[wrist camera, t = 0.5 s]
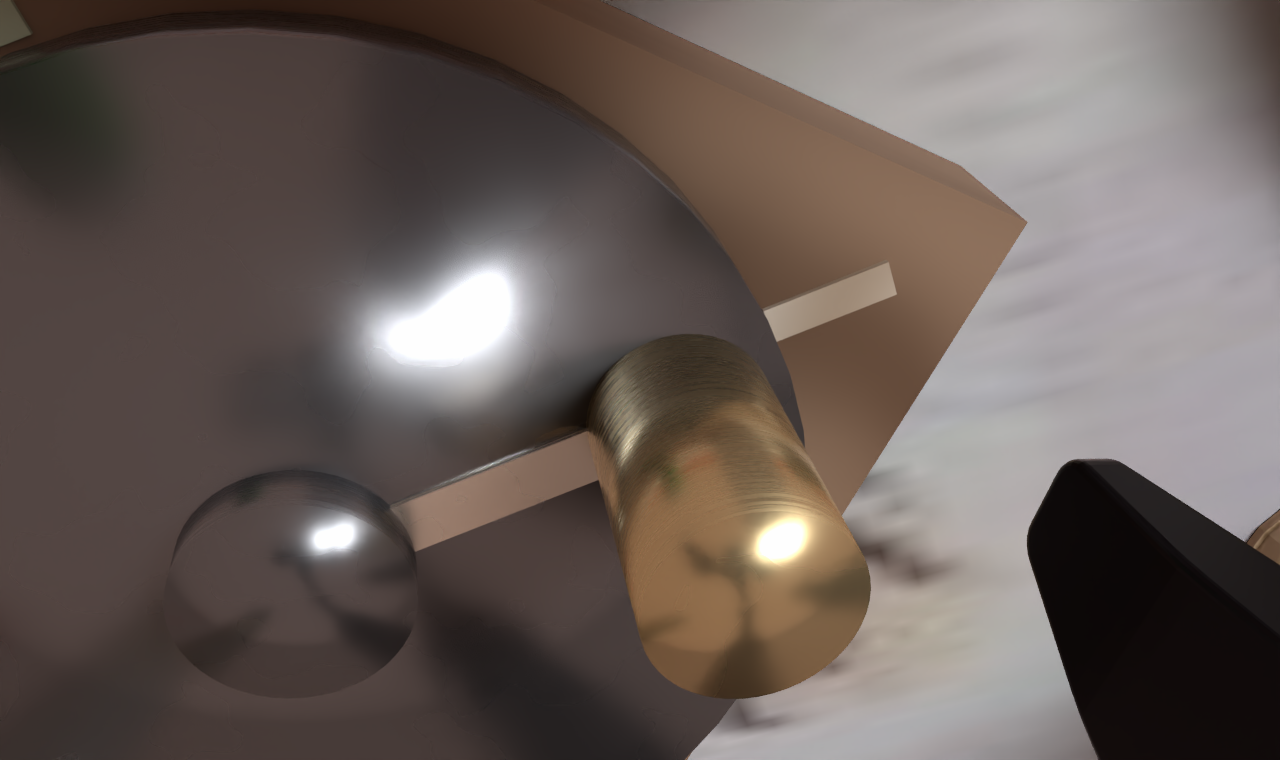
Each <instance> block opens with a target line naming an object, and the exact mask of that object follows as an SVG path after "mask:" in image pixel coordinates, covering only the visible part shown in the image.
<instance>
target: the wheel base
mask: <svg viewBox="0 0 1280 760" xmlns="http://www.w3.org/2000/svg"><path fill="white" fill-rule="evenodd" d="M247 9H260V10H272V11H284V12H296V13H309V14H321V15H333V16H341V17H346V18H351V19H356V20H360V21H365V22H370V23H374V24H379V25H384V26H388V27H393V28H398V29H402V30H407V31H412V32H417V33H421V34H423V35H426V36H429V37H432V38H435V39H438V40H441V41H443V42H446V43H449V44H452V45H455V46H458V47H461V48H463V49H466V50H469V51H472V52H475V53H478V54H481V55H483V56H486V57H489V58H492V59H495V60H497V61H499V62H501V63H503V64H505V65H507V66H509V67H511V68H513V69H515V70H517V71H518V72H520V73H522V74H524V75H526V76H528V77H530V78H532V79H534V80H536V81H538V82H540V83H542V84H544V85H546V86H548V87H550V88H552V89H554V90H556V91H558V92H560V93H562V94H564V95H565V96H567V97H568V98H569V99H571V100H572V101H574V102H575V103H577V104H578V105H580V106H581V107H583V108H584V109H586V110H587V111H589V112H590V113H591V114H593V115H594V116H596V117H597V118H599V119H600V120H602V121H603V122H605V123H606V124H608V125H609V126H610V127H612V128H613V129H615V130H616V131H618V132H619V133H621V134H622V135H623V136H624V137H625V138H626V139H628V140H629V141H630V142H631V143H632V144H633V145H634V146H635V147H636V148H638V149H639V150H640V151H641V152H642V153H643V154H644V155H645V156H646V157H647V158H649V159H650V160H651V161H652V162H653V163H654V164H655V165H656V166H657V167H658V168H660V169H661V170H662V171H663V172H664V173H665V174H666V175H667V176H668V177H670V178H671V179H672V180H673V182H674V183H675V184H676V185H677V186H678V188H679V189H680V190H681V191H682V192H683V194H684V195H685V196H686V197H687V198H688V200H689V201H690V202H691V203H692V204H693V206H694V207H695V208H696V209H697V210H698V212H699V213H700V214H701V215H702V216H703V218H704V219H705V220H706V221H707V223H708V224H709V225H710V226H711V227H712V229H713V230H714V232H715V233H716V235H717V236H718V238H719V240H720V241H721V243H722V245H723V246H724V248H725V250H726V251H727V253H728V255H729V256H730V258H731V259H732V261H733V263H734V264H735V266H736V268H737V269H738V271H739V273H740V274H741V276H742V278H743V279H744V281H745V283H746V284H747V286H748V288H749V289H750V291H751V293H752V294H753V296H754V298H755V299H756V301H757V303H758V304H759V306H760V308H761V309H762V311H763V313H764V314H765V316H766V318H767V319H768V322H769V324H770V327H771V329H772V332H773V334H774V336H775V339H776V341H777V344H778V346H779V348H780V351H781V353H782V356H783V358H784V360H785V363H786V365H787V368H788V370H789V373H790V375H791V379H792V384H793V388H794V392H795V396H796V400H797V404H798V408H799V413H800V417H801V421H802V425H803V429H804V440H805V450H806V451H807V453H808V455H809V457H810V459H811V461H812V462H813V464H814V466H815V468H816V470H817V472H818V473H819V475H820V477H821V479H822V481H823V483H824V484H825V486H826V488H827V490H828V492H829V494H830V495H831V497H832V499H833V501H834V503H835V505H836V507H837V508H838V510H839V512H840V514H841V516H842V514H843V513H844V511H845V510H846V508H847V506H848V505H849V503H850V502H851V500H852V498H853V497H854V495H855V494H856V492H857V491H858V489H859V487H860V486H861V484H862V483H863V481H864V480H865V478H866V476H867V475H868V473H869V472H870V470H871V469H872V467H873V465H874V464H875V462H876V461H877V459H878V457H879V456H880V454H881V453H882V451H883V450H884V448H885V446H886V445H887V443H888V442H889V440H890V439H891V437H892V435H893V434H894V432H895V431H896V429H897V427H898V426H899V424H900V423H901V421H902V420H903V418H904V416H905V415H906V413H907V412H908V410H909V409H910V407H911V405H912V404H913V402H914V401H915V399H916V397H917V396H918V394H919V393H920V391H921V390H922V388H923V386H924V385H925V383H926V382H927V380H928V379H929V377H930V375H931V374H932V372H933V371H934V369H935V368H936V366H937V364H938V363H939V361H940V360H941V358H942V356H943V355H944V353H945V352H946V350H947V349H948V347H949V345H950V344H951V342H952V341H953V339H954V338H955V336H956V334H957V333H958V331H959V330H960V328H961V326H962V325H963V323H964V322H965V320H966V319H967V317H968V315H969V314H970V312H971V311H972V309H973V308H974V306H975V304H976V303H977V301H978V300H979V298H980V297H981V295H982V293H983V292H984V290H985V289H986V287H987V285H988V284H989V282H990V281H991V279H992V278H993V276H994V274H995V273H996V271H997V270H998V268H999V267H1000V265H1001V263H1002V262H1003V260H1004V259H1005V257H1006V255H1007V254H1008V252H1009V251H1010V249H1011V248H1012V246H1013V244H1014V243H1015V241H1016V240H1017V238H1018V237H1019V235H1020V233H1021V232H1022V230H1023V229H1024V227H1025V226H1026V224H1027V221H1025V220H1024V219H1023V218H1022V217H1021V216H1020V215H1018V214H1017V213H1016V212H1015V211H1014V210H1012V209H1011V208H1010V207H1009V206H1008V205H1006V204H1005V203H1004V202H1003V201H1002V200H1001V199H999V198H998V197H997V196H996V195H995V194H993V193H992V192H991V191H990V190H989V189H987V188H986V187H985V186H984V185H983V184H982V183H980V182H979V181H978V180H977V179H976V178H974V177H973V176H972V175H971V174H970V173H968V172H967V171H966V170H965V169H964V168H963V167H961V166H959V165H957V164H955V163H953V162H951V161H949V160H946V159H944V158H942V157H940V156H938V155H935V154H933V153H931V152H929V151H927V150H925V149H922V148H920V147H918V146H916V145H914V144H911V143H909V142H907V141H905V140H903V139H901V138H898V137H896V136H894V135H892V134H890V133H887V132H885V131H883V130H881V129H879V128H877V127H874V126H872V125H870V124H868V123H866V122H864V121H861V120H859V119H857V118H855V117H853V116H850V115H848V114H846V113H844V112H842V111H840V110H837V109H835V108H833V107H831V106H829V105H826V104H824V103H822V102H820V101H818V100H816V99H813V98H811V97H809V96H807V95H805V94H802V93H800V92H798V91H796V90H794V89H792V88H789V87H787V86H785V85H783V84H781V83H778V82H776V81H774V80H772V79H770V78H768V77H765V76H763V75H761V74H759V73H757V72H754V71H752V70H750V69H748V68H746V67H744V66H741V65H739V64H737V63H735V62H733V61H730V60H728V59H726V58H724V57H722V56H720V55H717V54H715V53H713V52H711V51H709V50H706V49H704V48H702V47H700V46H698V45H696V44H693V43H691V42H689V41H687V40H685V39H682V38H680V37H678V36H676V35H674V34H672V33H669V32H667V31H665V30H663V29H661V28H659V27H656V26H654V25H652V24H650V23H648V22H645V21H643V20H641V19H639V18H637V17H635V16H632V15H630V14H628V13H626V12H624V11H621V10H619V9H617V8H615V7H613V6H611V5H608V4H606V3H604V2H602V1H600V0H0V57H2V56H4V55H6V54H9V53H11V52H14V51H18V50H21V49H24V48H27V47H30V46H33V45H36V44H39V43H42V42H45V41H49V40H52V39H55V38H58V37H61V36H64V35H67V34H70V33H73V32H76V31H80V30H83V29H86V28H89V27H95V26H101V25H106V24H112V23H118V22H123V21H129V20H134V19H140V18H146V17H151V16H157V15H162V14H168V13H181V12H203V11H225V10H247ZM691 753H692V752H691ZM691 753H690V754H691ZM690 754H689V755H688V757H689V756H690ZM688 757H687V758H686V759H685V760H687V759H688Z"/></svg>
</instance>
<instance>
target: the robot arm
mask: <svg viewBox="0 0 1280 760" xmlns="http://www.w3.org/2000/svg"><path fill="white" fill-rule="evenodd" d="M1027 550H1028V556H1029V560H1030V563H1031V566H1032V570H1033V573H1034V576H1035V579H1036V582H1037V585H1038V588H1039V591H1040V594H1041V598H1042V601H1043V604H1044V607H1045V610H1046V613H1047V616H1048V619H1049V622H1050V626H1051V629H1052V632H1053V635H1054V638H1055V641H1056V644H1057V647H1058V651H1059V654H1060V657H1061V660H1062V663H1063V666H1064V669H1065V672H1066V675H1067V679H1068V682H1069V685H1070V688H1071V691H1072V694H1073V697H1074V699H1075V702H1076V705H1077V708H1078V711H1079V714H1080V716H1081V719H1082V721H1083V724H1084V726H1085V729H1086V731H1087V734H1088V736H1089V739H1090V741H1091V744H1092V746H1093V748H1094V750H1095V753H1096V755H1097V757H1098V760H1280V565H1279V564H1278V563H1276V562H1275V561H1273V560H1272V559H1270V558H1269V557H1267V556H1265V555H1264V554H1262V553H1261V552H1259V551H1258V550H1256V549H1255V548H1253V547H1251V546H1250V545H1248V544H1247V543H1245V542H1244V541H1242V540H1241V539H1239V538H1238V537H1236V536H1234V535H1233V534H1231V533H1230V532H1228V531H1227V530H1225V529H1224V528H1222V527H1220V526H1219V525H1217V524H1216V523H1214V522H1213V521H1211V520H1210V519H1208V518H1207V517H1205V516H1203V515H1202V514H1200V513H1199V512H1197V511H1196V510H1194V509H1193V508H1191V507H1189V506H1188V505H1186V504H1185V503H1183V502H1182V501H1180V500H1179V499H1177V498H1176V497H1174V496H1172V495H1171V494H1169V493H1168V492H1166V491H1165V490H1163V489H1162V488H1160V487H1158V486H1157V485H1155V484H1154V483H1152V482H1151V481H1149V480H1148V479H1146V478H1145V477H1143V476H1141V475H1140V474H1138V473H1137V472H1135V471H1134V470H1132V469H1131V468H1129V467H1127V466H1126V465H1124V464H1123V463H1121V462H1119V461H1116V460H1112V459H1075V460H1071V461H1069V462H1067V463H1066V464H1065V465H1063V466H1062V467H1061V468H1060V470H1059V471H1058V473H1057V475H1056V476H1055V478H1054V480H1053V482H1052V484H1051V486H1050V488H1049V490H1048V492H1047V494H1046V496H1045V497H1044V499H1043V501H1042V503H1041V505H1040V507H1039V509H1038V511H1037V513H1036V515H1035V517H1034V519H1033V520H1032V522H1031V525H1030V527H1029V530H1028V535H1027Z"/></svg>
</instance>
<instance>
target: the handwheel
mask: <svg viewBox="0 0 1280 760" xmlns="http://www.w3.org/2000/svg"><path fill="white" fill-rule="evenodd" d="M870 591H871V585H870V575H869V570H868V566H867V564H866V561H865V559H864V556H863V554H862V552H861V551H860V549H859V547H858V545H857V543H856V541H855V540H854V538H853V536H852V534H851V532H850V530H849V529H848V527H847V525H846V523H845V521H844V519H843V518H842V516H841V514H840V512H839V510H838V508H837V507H836V505H835V503H834V501H833V499H832V497H831V495H830V494H829V492H828V490H827V488H826V486H825V484H824V483H823V481H822V479H821V477H820V475H819V473H818V472H817V470H816V468H815V466H814V464H813V462H812V461H811V459H810V457H809V455H808V453H807V451H806V450H805V440H804V429H803V425H802V421H801V417H800V413H799V408H798V404H797V400H796V396H795V392H794V388H793V384H792V379H791V375H790V373H789V370H788V368H787V365H786V363H785V360H784V358H783V356H782V353H781V351H780V348H779V346H778V344H777V341H776V339H775V336H774V334H773V332H772V329H771V327H770V324H769V322H768V319H767V318H766V316H765V314H764V313H763V311H762V309H761V308H760V306H759V304H758V303H757V301H756V299H755V298H754V296H753V294H752V293H751V291H750V289H749V288H748V286H747V284H746V283H745V281H744V279H743V278H742V276H741V274H740V273H739V271H738V269H737V268H736V266H735V264H734V263H733V261H732V259H731V258H730V256H729V255H728V253H727V251H726V250H725V248H724V246H723V245H722V243H721V241H720V240H719V238H718V236H717V235H716V233H715V232H714V230H713V229H712V227H711V226H710V225H709V224H708V223H707V221H706V220H705V219H704V218H703V216H702V215H701V214H700V213H699V212H698V210H697V209H696V208H695V207H694V206H693V204H692V203H691V202H690V201H689V200H688V198H687V197H686V196H685V195H684V194H683V192H682V191H681V190H680V189H679V188H678V186H677V185H676V184H675V183H674V182H673V180H672V179H671V178H670V177H668V176H667V175H666V174H665V173H664V172H663V171H662V170H661V169H660V168H658V167H657V166H656V165H655V164H654V163H653V162H652V161H651V160H650V159H649V158H647V157H646V156H645V155H644V154H643V153H642V152H641V151H640V150H639V149H638V148H636V147H635V146H634V145H633V144H632V143H631V142H630V141H629V140H628V139H626V138H625V137H624V136H623V135H622V134H621V133H619V132H618V131H616V130H615V129H613V128H612V127H610V126H609V125H608V124H606V123H605V122H603V121H602V120H600V119H599V118H597V117H596V116H594V115H593V114H591V113H590V112H589V111H587V110H586V109H584V108H583V107H581V106H580V105H578V104H577V103H575V102H574V101H572V100H571V99H569V98H568V97H567V96H565V95H564V94H562V93H560V92H558V91H556V90H554V89H552V88H550V87H548V86H546V85H544V84H542V83H540V82H538V81H536V80H534V79H532V78H530V77H528V76H526V75H524V74H522V73H520V72H518V71H517V70H515V69H513V68H511V67H509V66H507V65H505V64H503V63H501V62H499V61H497V60H495V59H492V58H489V57H486V56H483V55H481V54H478V53H475V52H472V51H469V50H466V49H463V48H461V47H458V46H455V45H452V44H449V43H446V42H443V41H441V40H438V39H435V38H432V37H429V36H426V35H423V34H421V33H417V32H412V31H407V30H402V29H398V28H393V27H388V26H384V25H379V24H374V23H370V22H365V21H360V20H356V19H351V18H346V17H341V16H333V15H321V14H309V13H296V12H284V11H272V10H260V9H247V10H225V11H203V12H181V13H168V14H162V15H157V16H151V17H146V18H140V19H134V20H129V21H123V22H118V23H112V24H106V25H101V26H95V27H89V28H86V29H83V30H80V31H76V32H73V33H70V34H67V35H64V36H61V37H58V38H55V39H52V40H49V41H45V42H42V43H39V44H36V45H33V46H30V47H27V48H24V49H21V50H18V51H14V52H11V53H9V54H6V55H4V56H2V57H0V760H685V759H686V758H687V757H688V755H689V754H690V753H691V752H692V751H693V750H694V749H695V748H696V747H697V746H698V745H699V744H700V743H701V741H702V740H703V739H704V738H705V737H706V736H707V735H708V734H709V733H710V732H711V731H712V730H713V729H714V728H715V726H716V725H717V724H718V723H719V722H720V720H721V719H722V718H723V716H724V715H725V714H726V712H727V711H728V709H729V708H730V707H731V705H732V704H733V703H734V701H735V700H736V699H743V698H751V697H759V696H763V695H767V694H772V693H775V692H778V691H781V690H784V689H787V688H789V687H792V686H794V685H796V684H798V683H801V682H802V681H804V680H806V679H808V678H810V677H811V676H813V675H815V674H816V673H818V672H819V671H820V670H822V669H823V668H825V667H826V666H827V665H828V664H830V663H831V662H832V661H833V660H834V659H835V658H837V657H838V656H839V654H840V653H841V652H842V651H843V650H844V649H845V648H846V647H847V646H848V644H849V643H850V642H851V640H852V639H853V638H854V636H855V635H856V633H857V631H858V630H859V628H860V626H861V624H862V622H863V620H864V617H865V615H866V612H867V608H868V605H869V600H870Z"/></svg>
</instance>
